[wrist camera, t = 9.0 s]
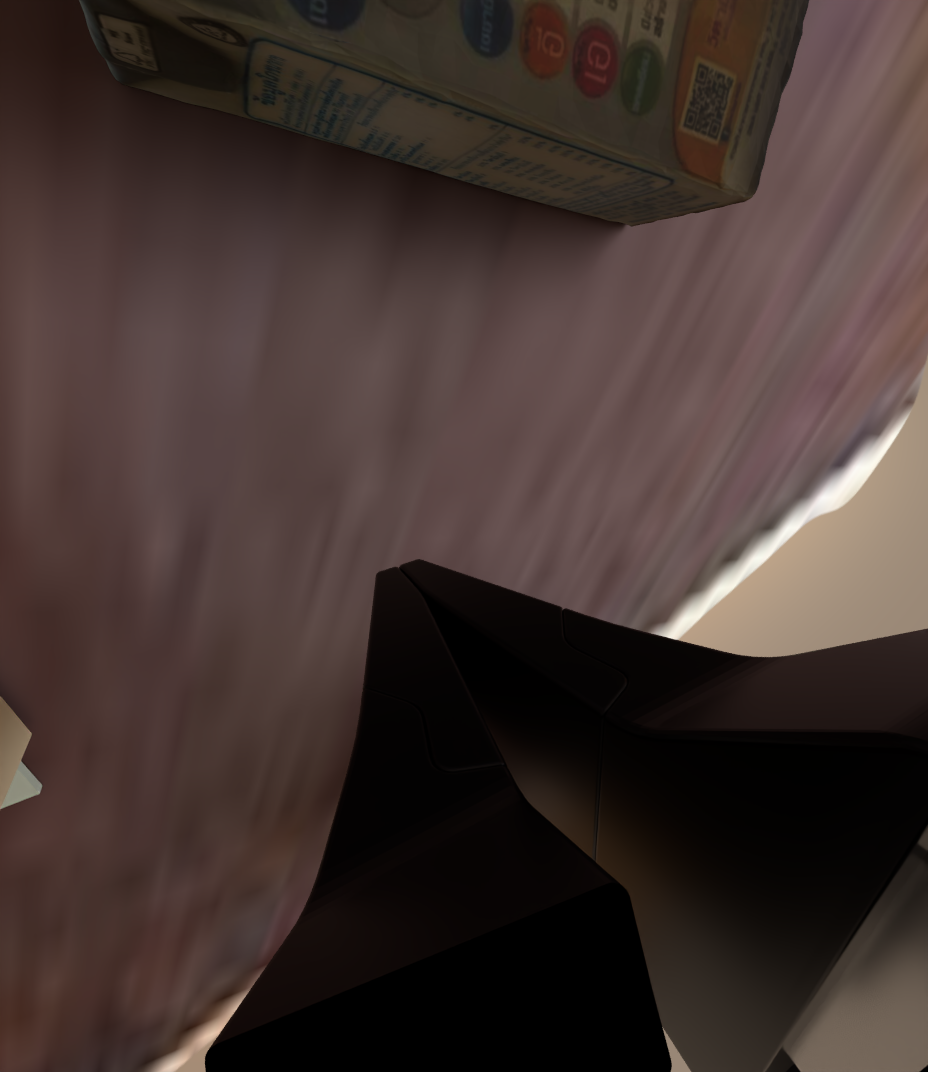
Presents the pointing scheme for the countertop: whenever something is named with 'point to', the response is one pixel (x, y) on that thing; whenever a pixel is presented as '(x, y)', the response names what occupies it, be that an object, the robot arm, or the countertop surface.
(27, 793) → the mat
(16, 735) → the beige bevelled block
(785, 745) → the robot arm
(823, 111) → the countertop surface
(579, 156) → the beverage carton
